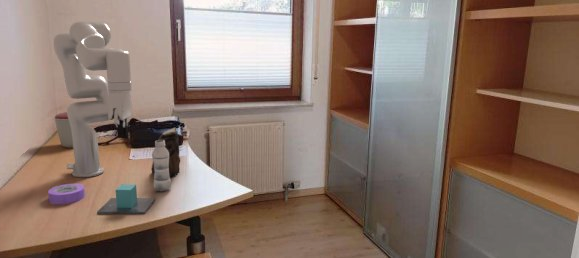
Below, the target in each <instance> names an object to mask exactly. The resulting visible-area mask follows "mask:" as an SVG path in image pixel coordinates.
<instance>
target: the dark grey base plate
mask: <svg viewBox="0 0 579 258" xmlns="http://www.w3.org/2000/svg"><path fill="white" fill-rule="evenodd" d="M155 201H156V198H155V197H137V203H136V204H135V205H134V206H133V207H132V208H117V201H116V197H111V198H109V200H108V201H106V202H105V204H104V205H102V206H101V208H99V209H98V210H97V211H96V214H97V215H145V214H146V213H147V212H148V211H149V210H150V208H151V207H152V205H154V203H155Z"/></svg>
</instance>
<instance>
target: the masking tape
mask: <svg viewBox="0 0 579 258" xmlns="http://www.w3.org/2000/svg"><path fill="white" fill-rule="evenodd" d="M85 191H86V190H85V185H83V184H80V183H66V184H65V183H64V184H61V185H57V186H54V187H51V188H50V189H48V191H47V193H48V202H49V203H50V204H52V203H53V205H67V204H72V203H76V202H78V201H81V200H82V199H84V198H85V196H86V193H85Z"/></svg>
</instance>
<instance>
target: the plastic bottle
mask: <svg viewBox="0 0 579 258" xmlns="http://www.w3.org/2000/svg"><path fill="white" fill-rule="evenodd" d="M154 147H155V148H154V149H153V151H152V152H151V157H152V158H151V159H152V164H153V163H154V170H155V175H154V180H153V188H154V190H155V191H157V192H167V191H169V190H170V189H171V188H172V181H171V178H170V176H169V168H168V167H169V152H168V150H167V149H166V148H165V141H164V140H159V139H158V140H154Z"/></svg>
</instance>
